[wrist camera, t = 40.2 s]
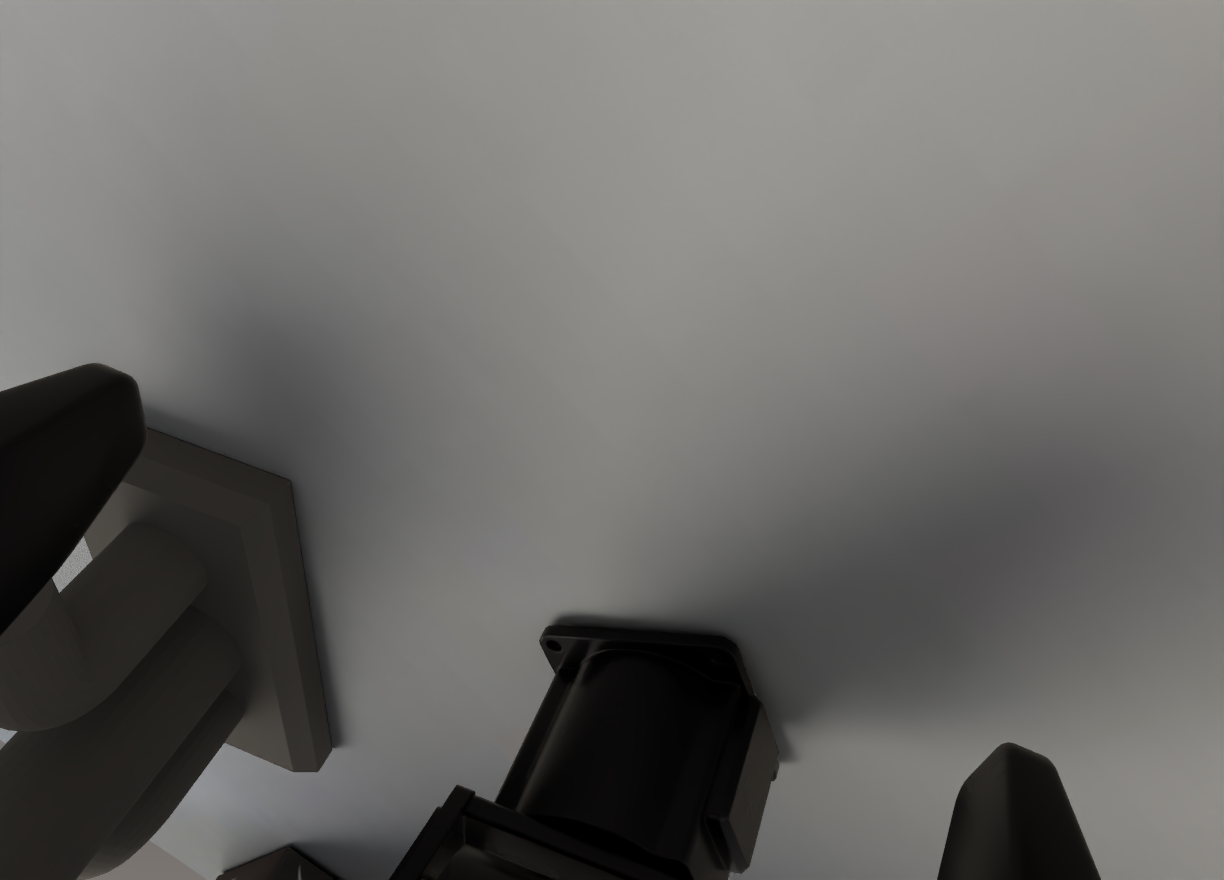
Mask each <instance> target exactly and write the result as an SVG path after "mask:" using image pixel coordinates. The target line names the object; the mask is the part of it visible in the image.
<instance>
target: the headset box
mask: <svg viewBox="0 0 1224 880" xmlns="http://www.w3.org/2000/svg"><path fill="white" fill-rule="evenodd" d="M216 880H334V879H333V878H331V877H330V876H329V875H327V874H326V873H324V872H323V871H322V870H320V869H319V868H317V867H316V866H314V865H313V864H311V863H310V862H308V861H307V860H306V859H304V858H303V857H302V856H300V855H299V854H298V853H296V852H295V851H294V850H292V849H291V848H289V847H286V848H283V849H281V850H279V851H277V852H275V853H273V854H270V855H268V856H265V857H263V858H260V859H258V860H255V861H253V862H250V863H248V864H246V865H243V866H241V867H238V868H236V869H233V870H231V871H229V872H226V873H224V874H222V875H219V876H218V877H217V879H216Z"/></svg>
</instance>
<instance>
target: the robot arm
mask: <svg viewBox="0 0 1224 880" xmlns="http://www.w3.org/2000/svg"><path fill="white" fill-rule="evenodd" d="M147 434H148V432H147V426H146V421H145V416H144V412H143V407H142V402H141V397H140V393H139V388H138V385H137V383H136V381H135V380H134V379H133V377H131V376H130V375H128V374H126V373H123V372H121V371H118V370H116V369H114V368H111V367H109V366H106V365H104V364H99V363H90V364H86V365H82V366H79V367H76V368H73V369H69V370H66V371H63V372H60V373H57V374H54V375H51V376H48V377H44V378H41V379H38V380H35V381H32V382H29V383H26V384H23V385H19V386H16V387H13V388H10V389H7V390H4V391H1V392H0V636H1V635H2V634H3V633H4V632H5V631H6V630H7V629H8V627H9V626H10V625H11V624H12V623H13V622H14V621H15V619H16V618H17V617H18V616H19V615H20V614H21V613H22V612H23V610H24V609H25V608H26V607H27V606H28V605H29V604H30V602H31V601H32V600H33V599H34V598H35V597H36V596H37V595H38V593H39V592H40V591H41V590H42V589H43V588H44V587H45V585H46V584H47V583H48V582H49V581H50V579H51V578H52V577H53V576H54V575H55V573H56V572H57V571H58V570H59V569H60V567H61V566H62V565H63V563H64V562H65V561H66V559H67V558H68V557H69V555H70V554H71V553H72V551H73V550H74V549H75V547H76V546H77V544H78V543H79V542H80V540H81V539H82V537H83V536H84V534H85V533H86V532H87V530H88V529H89V527H90V526H91V525H92V523H93V522H94V520H95V519H96V518H97V516H98V515H99V513H100V512H101V511H102V509H103V508H104V506H105V505H106V503H107V502H108V501H109V499H110V498H111V496H112V495H113V494H114V492H115V491H116V489H117V488H118V487H119V485H120V484H121V482H122V481H123V479H124V478H125V477H126V475H127V474H128V472H129V471H130V470H131V468H132V467H133V465H134V464H135V463H136V461H137V460H138V458H139V457H140V455H141V454H142V452H143V450H144V447H145V445H146V441H147ZM539 641H540V645H541V647H542V649H543V651H544V653H545V655H546V657H547V659H548V661H549V663H550V665H551V666H552V668H553V670H554V672H555V674H556V675H555V677H554V679H553V681H552V683H551V685H550V687H549V689H548V691H547V693H546V695H545V697H544V700H543V702H542V704H541V706H540V708H539V710H538V712H537V714H536V716H535V718H534V720H533V722H532V725H531V727H530V729H529V731H528V733H527V735H526V737H525V739H524V741H523V743H522V745H521V747H520V750H519V752H518V754H517V756H516V758H515V760H514V762H513V764H512V766H511V768H510V770H509V773H508V775H507V777H506V779H505V781H504V783H503V785H502V787H501V789H500V791H499V793H498V795H497V798H496V800H495V802H491V801H489V800H486V799H484V798H481V797H478V796H476V795H475V791H473V790H470V789H468V788H465V787H462V786H460V785H456V787H455V788H454V790H453V791H452V793H451V794H450V796H449V797H448V799H447V800H446V802H445V803H444V805H443V806H442V807H437V808H436V810H435V811H434V813H433V814H432V816H431V817H430V819H429V820H428V822H427V823H426V825H425V826H424V828H423V829H422V831H421V832H420V834H419V835H418V837H417V838H416V840H415V841H414V843H413V844H412V846H411V847H410V849H409V850H408V852H407V853H406V855H405V856H404V858H403V859H402V861H401V862H400V864H399V865H398V867H397V868H396V870H395V871H394V873H393V874H392V876H391V877H390V879H389V880H728V877H729V873H730V872H734V873H740V874H741V873H743V872H744V871H745V870H746V869H747V868H748V867H749V866H750V862H751V858H752V855H753V851H754V847H755V843H756V839H757V835H758V831H759V827H760V824H761V820H762V816H763V812H764V808H765V804H766V800H767V796H768V792H769V789H770V785H771V781H774V780H775V779H776V777H777V773H778V769H779V763H778V760H777V758H778V753H779V751H778V748H777V745H776V742H775V739H774V736H773V733H772V730H771V727H770V724H769V721H768V718H767V716H766V713H765V710H764V707H763V704H762V702H761V701H760V700H759V699H758V697H757V696H756V695H755V693H754V691H753V688H752V685H751V682H750V679H749V676H748V673H747V670H746V668H745V665H744V662H743V659H742V656H741V653H740V650H739V648H738V646H737V645H736V644H735V643H734V642H733V641H731V640H729V639H727V638H725V637H720V636H708V635H692V634H677V633H662V632H647V631H632V630H616V629H601V628H586V627H571V626H556V625H552V626H548V627H546V628H545V630H544V632H543V634H542V636H541V638H540V640H539ZM937 880H1101V878H1100V876H1099V873H1098V871H1097V868H1096V866H1095V863H1094V861H1093V858H1092V856H1091V854H1090V851H1089V849H1088V846H1087V844H1086V841H1085V839H1084V836H1083V834H1082V831H1081V829H1080V826H1079V824H1078V821H1077V819H1076V816H1075V814H1074V812H1073V809H1072V807H1071V804H1070V802H1069V799H1068V797H1067V794H1066V792H1065V789H1064V787H1063V784H1062V782H1061V779H1060V777H1059V775H1058V772H1057V770H1056V768H1055V766H1054V765H1053V763H1052V762H1051V761H1050V760H1049V759H1048V758H1046V757H1045V756H1043V755H1041V754H1038V753H1036V752H1033V751H1031V750H1029V749H1026V748H1024V747H1021V746H1019V745H1017V744H1014V743H1010V742H1008V743H1004V744H1001V745H1000V746H999V747H997V748H996V749H995V750H994V751H993V752H992V753H991V755H990V756H989V757H988V758H987V759H986V760H985V761H984V762H983V763H982V764H981V765H980V766H979V767H978V768H977V769H976V770H975V771H974V772H973V773H972V774H971V775H970V776H969V777H968V778H967V779H966V781H965V782H964V784H963V785H962V787H961V789H960V791H959V793H958V796H957V799H956V802H955V806H954V810H953V815H952V819H951V823H950V827H949V832H948V836H947V840H946V844H945V848H944V853H943V857H942V861H941V865H940V869H939V874H938V878H937Z"/></svg>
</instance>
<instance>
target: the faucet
mask: <svg viewBox="0 0 1224 880" xmlns="http://www.w3.org/2000/svg"><path fill="white" fill-rule="evenodd" d="M147 432H148V434H147V441H146V445H145V447H144V450H143V452H142V454H141V455H140V457H139V458H138V460H137V461H136V463H135V464H134V465H133V467H132V468H131V470H130V471H129V472H128V474H127V475H126V477H125V478H124V479H123V481H122V482H121V484H120V485H119V487H118V488H117V489H116V491H115V492H114V494H113V495H112V496H111V498H110V499H109V501H108V502H107V503H106V505H105V506H104V508H103V509H102V511H101V512H100V513H99V515H98V516H97V518H96V519H95V520H94V522H93V523H92V525H91V526H90V527H89V529H88V530H87V532H86V533H85V534H84V538H85V541H86V543H87V546H88V548H89V551H90V553H91V556H92V558H93V560H92V561H91V562H90V563H89V564H88V565H87V566H86V567H85V568H84V569H83V570H82V571H81V572H80V573H79V574H78V575H77V576H76V577H75V578H74V579H73V580H72V581H71V582H70V583H69V584H68V585H67V586H66V587H65V588H64V589H63V590H62V591H61V592H60V593H59V592H58V590H57V588H56V586H55V583H54V581H53V579H52V578H51V579H50V581H49V582H48V583H47V584H46V585H45V587H44V588H43V589H42V590H41V591H40V592H39V593H38V595H37V596H36V597H35V598H34V599H33V600H32V601H31V602H30V604H29V605H28V606H27V607H26V608H25V609H24V610H23V612H22V613H21V614H20V615H19V616H18V617H17V618H16V619H15V621H14V622H13V623H12V624H11V625H10V626H9V627H8V629H7V630H6V631H5V632H4V633H3V634H2V635H1V636H0V728H3V729H6V730H13V731H18V732H17V733H16V734H15V735H14V736H13V737H12V738H11V739H10V740H9V741H8V742H7V743H6V744H5V746H4V747H3V748H2V749H1V750H0V880H85V879H89V878H93V877H96V876H99V875H102V874H105V873H107V872H109V871H111V870H112V869H114V868H116V867H118V866H119V865H121V864H122V863H124V862H125V861H126V860H128V859H129V858H130V857H131V856H132V855H133V854H135V853H136V852H137V851H138V850H139V849H140V848H141V847H142V846H143V845H144V844H145V843H146V842H147V841H148V840H149V839H150V838H151V837H152V836H153V835H154V834H155V833H156V832H157V831H158V830H159V829H160V827H161V826H162V825H163V824H164V823H165V821H166V820H167V819H168V818H169V816H170V815H171V814H172V813H173V811H174V810H175V809H176V807H177V806H178V805H179V803H180V802H181V801H182V799H183V798H184V796H185V795H186V794H187V792H188V791H189V790H190V788H191V787H192V786H193V784H194V783H195V782H196V780H197V779H198V777H199V776H200V775H201V773H202V772H203V771H204V769H205V768H206V767H207V765H208V764H209V763H210V761H211V760H212V759H213V757H214V756H215V754H216V753H217V752H218V750H219V749H220V748H221V746H222V745H223V744H224V743H227V744H229V745H231V746H234V747H236V748H238V749H241V750H243V751H245V752H248V753H250V754H252V755H255V756H257V757H259V758H262V759H264V760H266V761H269V762H271V763H273V764H276V765H278V766H280V767H283V768H285V769H287V770H290V771H292V772H318V771H319V770H320V768H321V767H322V765H323V764H324V762H325V760H326V759H327V757H328V756H329V754H330V753H331V751H332V747H331V740H330V734H329V728H328V721H327V715H326V708H325V702H324V696H323V689H322V683H321V676H320V670H319V664H318V657H317V651H316V645H315V638H314V632H313V625H312V619H311V613H310V606H309V600H308V593H307V587H306V581H305V574H304V568H303V562H302V555H301V549H300V542H299V536H298V530H297V523H296V517H295V510H294V504H293V498H292V491H291V485H290V481H289V480H286V479H283V478H281V477H278V476H275V475H273V474H270V473H267V472H264V471H262V470H259V469H256V468H254V467H251V466H248V465H246V464H243V463H240V462H237V461H235V460H232V459H229V458H227V457H224V456H221V455H219V454H216V453H213V452H210V451H208V450H205V449H202V448H200V447H197V446H194V445H192V444H189V443H186V442H183V441H181V440H178V439H175V438H173V437H170V436H167V435H165V434H162V433H159V432H156V431H154V430H151V429H148V428H147Z"/></svg>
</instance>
